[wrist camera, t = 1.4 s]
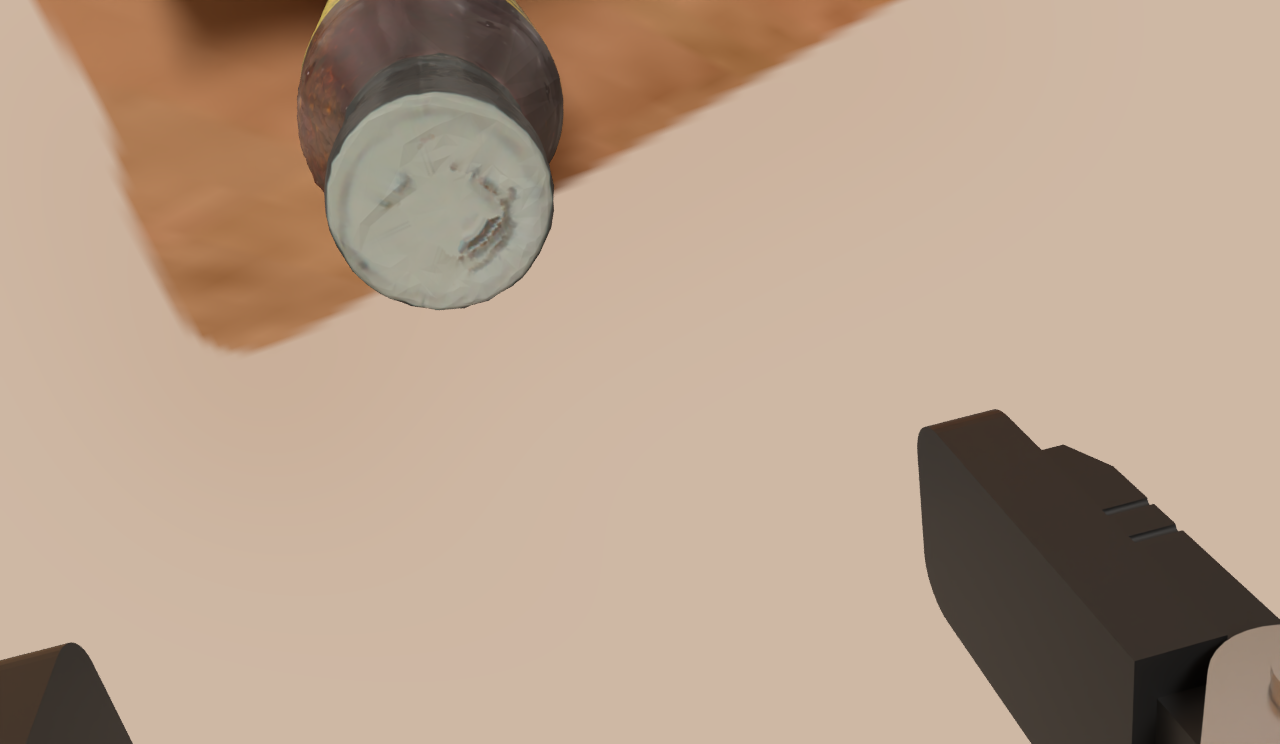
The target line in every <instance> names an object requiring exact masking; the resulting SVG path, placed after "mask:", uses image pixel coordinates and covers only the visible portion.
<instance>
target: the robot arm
mask: <svg viewBox="0 0 1280 744" xmlns="http://www.w3.org/2000/svg"><path fill="white" fill-rule="evenodd" d="M917 449H918V465H919V466H918V467H919V481H920V496H921V510H922V525H923V538H924V539H923V540H924V554H925V562H926V568H927V572H928V577H929V580H930V584H931V586H932V590H933V593H934V595H935V598H936V600H937V603H938V605H939V607H940V609H941V611H942V613H943V615H944V617H945V618H946V620H947V621H948V623H949V624H950V626H951V627H952V629H953V630H954V632H955V633H956V635H957V636H958V637H959V639H960V640H961V642H962V643H963V645H964V646H965V648H966V649H967V651H968V652H969V653H970V655H971V656H972V658H973V659H974V661H975V662H976V664H977V665H978V667H979V668H980V669H981V671H982V672H983V674H984V675H985V677H986V678H987V680H988V681H989V683H990V684H991V685H992V687H993V688H994V690H995V691H996V693H997V694H998V696H999V697H1000V698H1001V700H1002V701H1003V703H1004V704H1005V706H1006V707H1007V709H1008V710H1009V712H1010V713H1011V714H1012V716H1013V717H1014V719H1015V720H1016V721H1017V723H1018V725H1019V726H1020V728H1021V729H1022V731H1023V732H1024V733H1025V735H1026V736H1027V738H1028V739H1029V741H1030V742H1031V744H1280V619H1279V618H1278V617H1276V616H1275V615H1274V614H1273V613H1272V612H1271V611H1270V610H1269V609H1268V608H1267V607H1265V606H1264V605H1263V604H1262V603H1261V602H1260V601H1259V600H1258V599H1257V598H1256V597H1255V596H1254V595H1253V594H1251V593H1250V592H1249V591H1248V590H1247V589H1246V588H1245V587H1244V586H1243V585H1242V584H1241V583H1239V582H1238V581H1237V580H1236V579H1235V578H1234V577H1233V576H1232V575H1231V574H1230V573H1229V572H1227V571H1226V570H1225V569H1224V568H1223V567H1222V566H1221V565H1220V564H1219V563H1218V562H1217V561H1215V560H1214V559H1213V558H1212V557H1211V556H1210V555H1209V554H1208V553H1207V552H1206V551H1204V550H1203V549H1202V548H1201V547H1200V546H1199V545H1198V544H1197V543H1196V542H1195V541H1194V540H1193V539H1192V538H1190V537H1189V536H1188V535H1187V534H1186V533H1185V532H1184V531H1179V532H1178V531H1177V529H1176V525H1175V523H1174V522H1173V521H1172V520H1171V519H1170V518H1169V517H1168V516H1167V515H1165V514H1164V513H1163V512H1162V511H1161V510H1160V509H1159V508H1158V507H1157V506H1156V505H1155V504H1152V505H1149V503H1148V500H1147V497H1146V496H1145V495H1144V494H1143V493H1141V492H1140V491H1139V490H1138V489H1137V488H1136V487H1135V486H1134V485H1133V484H1132V483H1130V482H1129V481H1128V480H1127V479H1126V478H1125V477H1124V476H1123V475H1122V474H1121V473H1120V472H1118V471H1117V470H1116V469H1115V468H1114V467H1113V466H1111V465H1109V464H1106V463H1104V462H1102V461H1100V460H1097V459H1095V458H1093V457H1090V456H1088V455H1086V454H1084V453H1081V452H1079V451H1077V450H1075V449H1072V448H1070V447H1068V446H1065V445H1060V446H1056V447H1052V448H1049V449H1045V450H1041V449H1040V448H1039V447H1038V446H1037V445H1036V444H1035V443H1034V442H1033V441H1032V440H1031V439H1030V438H1029V437H1028V436H1027V435H1026V434H1025V433H1024V432H1023V431H1022V430H1021V429H1020V428H1019V427H1018V426H1017V425H1016V424H1015V423H1014V422H1013V421H1012V420H1011V419H1010V418H1009V417H1008V416H1007V415H1005V414H1004V413H1003V412H1002V411H1000V410H996V409H994V410H990V411H986V412H982V413H978V414H974V415H970V416H966V417H962V418H958V419H954V420H950V421H947V422H943V423H939V424H935V425H931V426H927V427H924V428H922V429H921V430H920V433H919V436H918V443H917ZM0 744H133V743H132V741H131V740H130V737H129V735H128V733H127V731H126V729H125V727H124V725H123V723H122V721H121V719H120V717H119V715H118V713H117V711H116V710H115V707H114V705H113V703H112V701H111V699H110V697H109V695H108V693H107V691H106V689H105V687H104V685H103V683H102V681H101V679H100V677H99V675H98V673H97V671H96V669H95V667H94V665H93V663H92V661H91V659H90V658H89V656H88V654H87V653H86V652H85V650H84V649H83V648H82V647H80V646H79V645H78V644H76V643H67V644H63V645H59V646H55V647H51V648H47V649H43V650H40V651H35V652H31V653H28V654H24V655H20V656H16V657H12V658H8V659H4V660H0Z"/></svg>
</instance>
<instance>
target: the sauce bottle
mask: <svg viewBox="0 0 1280 744" xmlns="http://www.w3.org/2000/svg"><path fill="white" fill-rule="evenodd" d="M297 111H298V112H297V120H298V129H299V138H300V142H301V148H302V151H303V154H304V156H305V158H306V161H307V164H308V166H309V169H310V171H311V173H312V175H313V178H314V181H315V183H316V184H317V185H318V186H319V187H320V188H321V189H322V190H323V192H324V195H325V209H326V216H327V221H328V226H329V230H330V233H331V235H332V237H333V239H334V241H335V244H336V246H337V248H338V249H339V251H340V252H341V254H342V255H343V257H344V258H345V260H346V262H347V263H348V265H349V266H350V268H351V269H352V271H353V272H354V273H355V274H356V275H357V276H358V277H359V278H361V279H362V280H363V281H364V282H365V283H366V284H367V285H368V286H370V287H371V288H373V289H374V290H376V291H377V292H379V293H380V294H382V295H384V296H386V297H388V298H390V299H394V300H397V301H400V302H403V303H406V304H408V305H410V306H415V307H423V308H430V309H435V310H445V309H456V308H466V307H468V306H470V305H473V304H477V303H481V302H485V301H489V300H490V299H492V298H493V297H494V296H496V295H497V294H499V293H500V292H502V291H504V290H506V289H508V288H510V287H511V286H513V285H514V284H515V283H516V282H517V281H519V280H520V279H521V278H522V277H523V276H524V275H525V274H526V272H527V271H528V270H529V268H530V267H531V266H532V264H533V262H534V261H535V259H536V258H537V256H538V255H539V253H540V251H541V249H542V247H543V244H544V242H545V240H546V238H547V236H548V233H549V231H550V229H551V225H552V219H553V212H554V205H553V193H554V184H553V180H552V176H551V171H550V166H549V163H550V161H551V160H552V158H553V156H554V154H555V152H556V149H557V146H558V143H559V140H560V136H561V131H562V124H563V94H562V88H561V82H560V78H559V74H558V71H557V68H556V66H555V63H554V60H553V58H552V56H551V54H550V52H549V50H548V48H547V46H546V44H545V42H544V41H543V39H542V38H541V36H540V35H539V33H538V32H537V30H536V29H535V27H534V26H533V24H532V23H531V22H530V20H529V18H528V17H527V16H526V15H525V13H524V12H523V10H522V9H521V8H520V6H519V5H518V4H517V3H516V1H515V0H328V2H327V4H326V6H325V8H324V10H323V13H322V16H321V18H320V20H319V22H318V25H317V27H316V29H315V31H314V33H313V35H312V38H311V40H310V42H309V45H308V47H307V50H306V53H305V57H304V60H303V64H302V70H301V78H300V84H299V88H298V96H297Z"/></svg>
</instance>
